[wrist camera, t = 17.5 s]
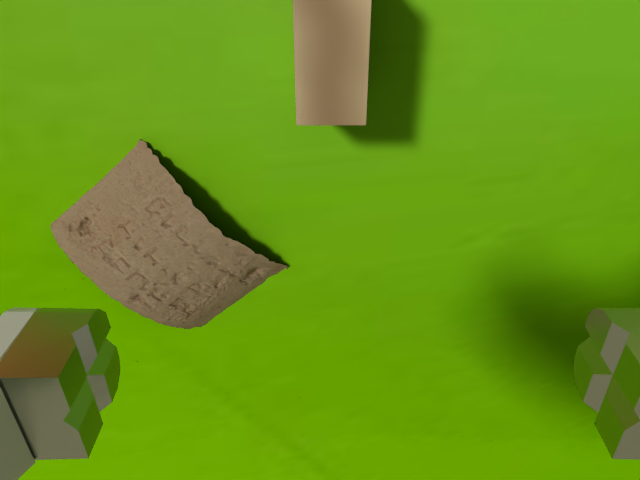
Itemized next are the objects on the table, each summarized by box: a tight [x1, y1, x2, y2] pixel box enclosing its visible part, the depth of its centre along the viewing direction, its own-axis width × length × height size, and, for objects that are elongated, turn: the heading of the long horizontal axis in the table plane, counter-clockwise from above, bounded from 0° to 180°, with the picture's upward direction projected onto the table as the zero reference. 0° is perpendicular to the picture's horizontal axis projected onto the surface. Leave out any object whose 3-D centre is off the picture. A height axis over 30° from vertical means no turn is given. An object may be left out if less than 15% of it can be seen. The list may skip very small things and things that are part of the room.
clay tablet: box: [51, 139, 288, 329], centre depth 37 cm, size 14×10×3 cm
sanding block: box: [293, 0, 372, 125], centre depth 28 cm, size 4×7×5 cm, turn 0°
